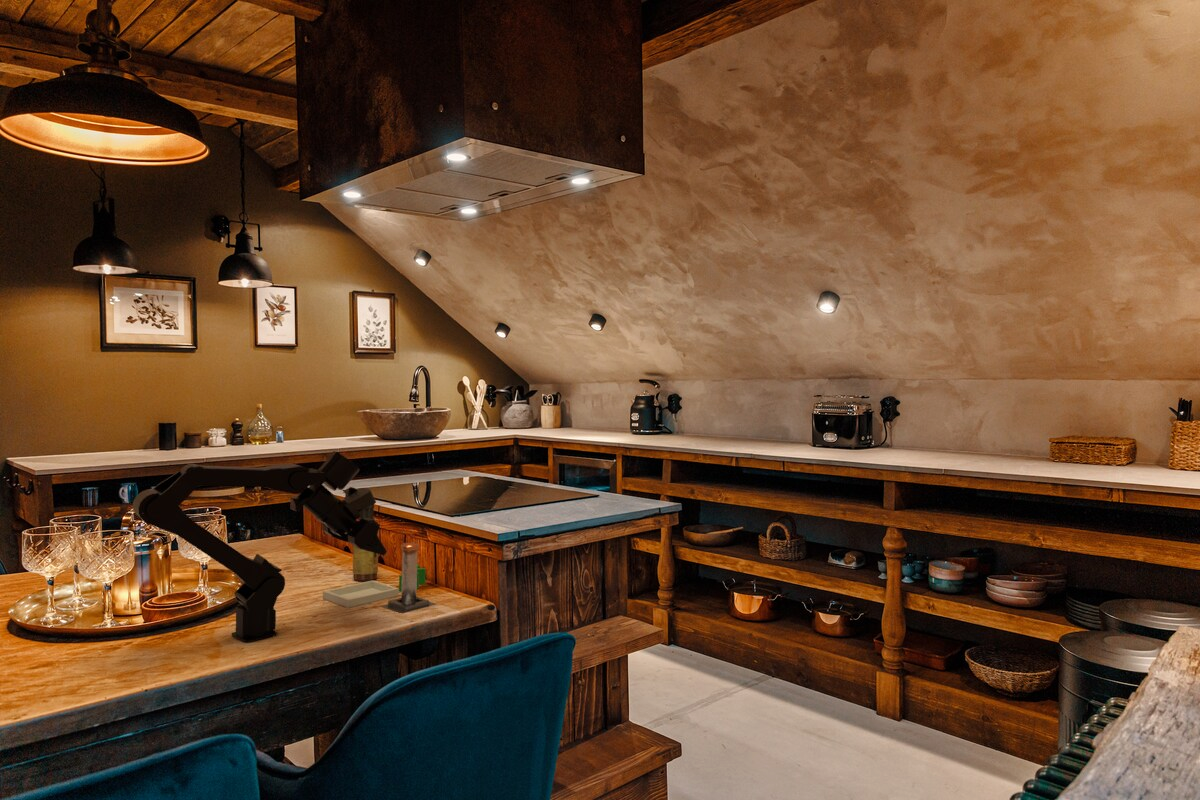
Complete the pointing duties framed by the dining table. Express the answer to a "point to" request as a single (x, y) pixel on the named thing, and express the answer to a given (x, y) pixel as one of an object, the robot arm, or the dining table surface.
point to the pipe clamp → (420, 577)
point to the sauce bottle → (365, 556)
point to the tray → (360, 594)
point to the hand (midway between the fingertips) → (376, 549)
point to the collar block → (402, 608)
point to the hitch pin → (409, 573)
